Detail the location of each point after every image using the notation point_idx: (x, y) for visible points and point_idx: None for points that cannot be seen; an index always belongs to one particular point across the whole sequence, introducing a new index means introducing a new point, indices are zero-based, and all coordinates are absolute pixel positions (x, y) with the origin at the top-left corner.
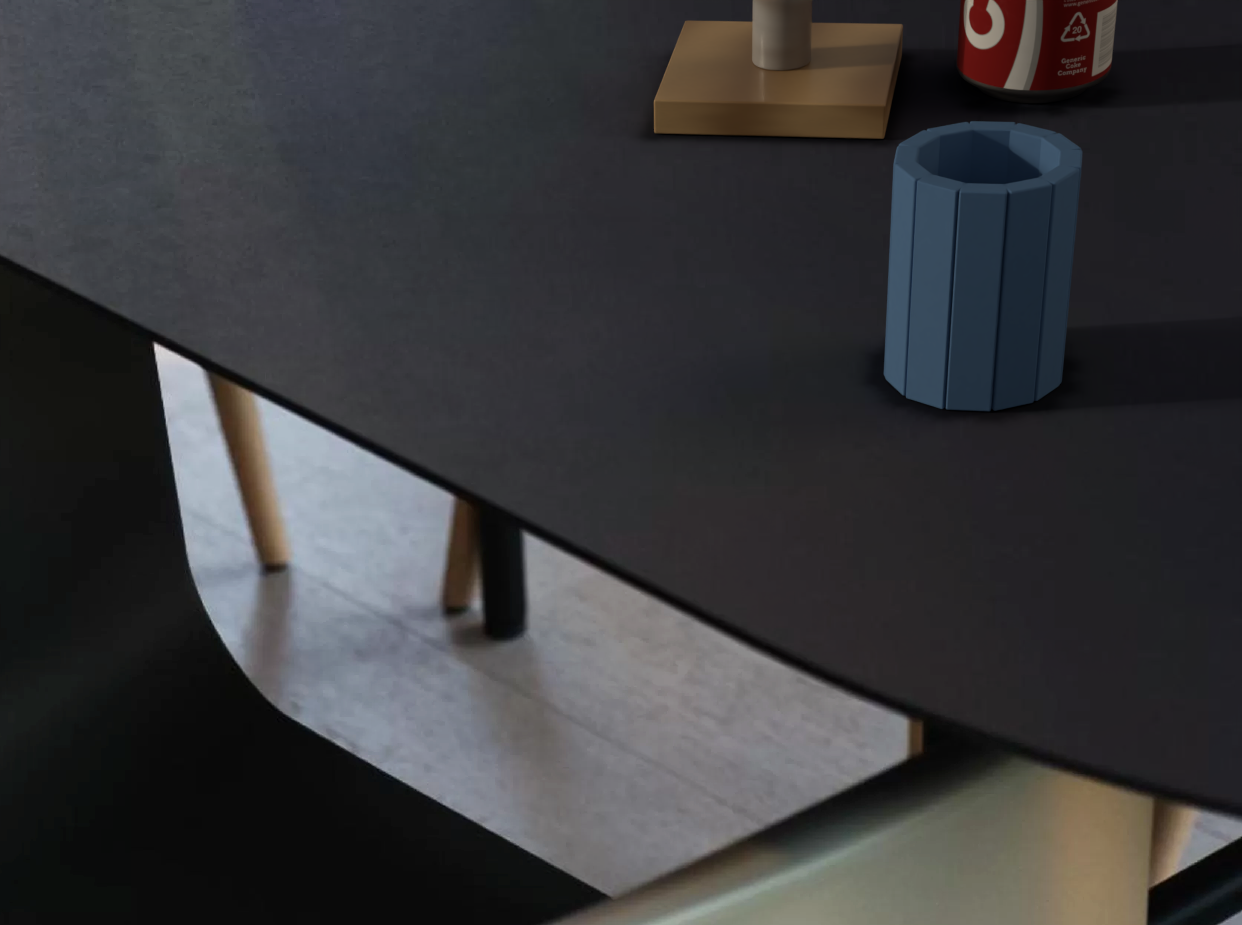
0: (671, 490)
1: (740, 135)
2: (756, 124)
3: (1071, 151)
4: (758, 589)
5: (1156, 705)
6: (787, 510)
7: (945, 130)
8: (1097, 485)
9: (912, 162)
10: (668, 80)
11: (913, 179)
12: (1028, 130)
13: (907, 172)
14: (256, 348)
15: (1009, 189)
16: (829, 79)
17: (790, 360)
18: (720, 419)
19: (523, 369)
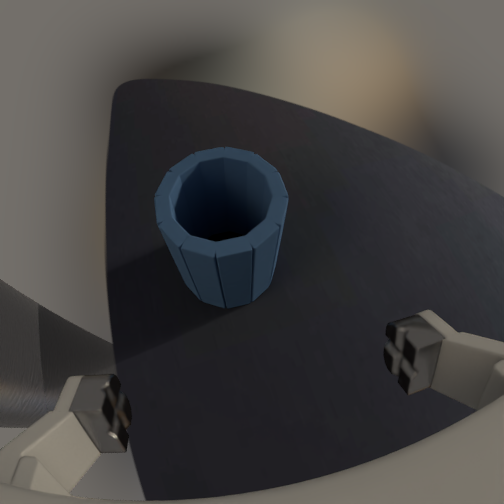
0: (311, 141)
1: None
2: None
3: (163, 217)
4: (253, 103)
5: (129, 97)
6: (264, 139)
7: (264, 228)
8: (152, 186)
9: (266, 173)
10: None
11: (257, 155)
12: (202, 244)
13: (264, 161)
14: (492, 200)
15: (193, 155)
16: None
17: (321, 248)
18: (322, 189)
19: (417, 207)
